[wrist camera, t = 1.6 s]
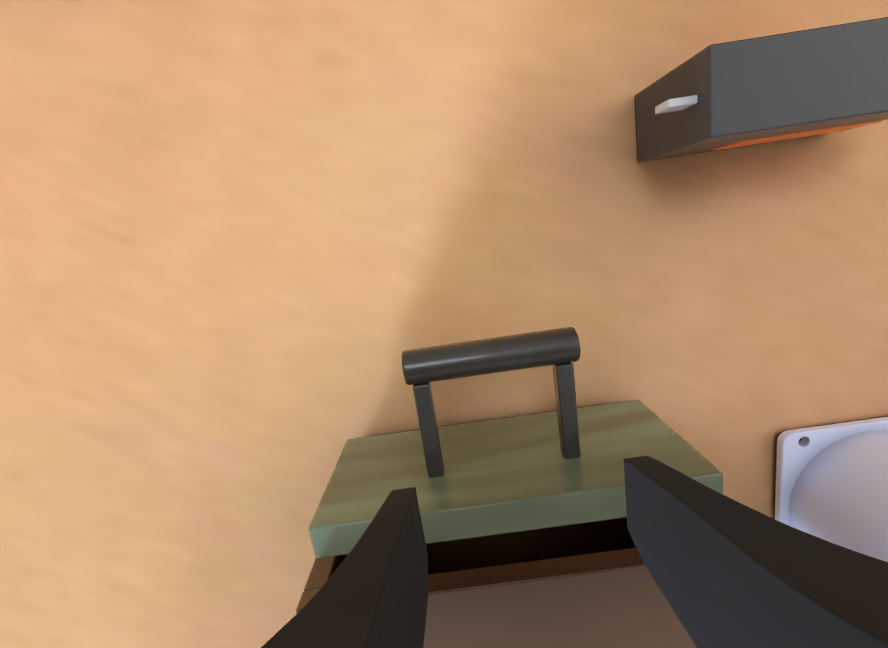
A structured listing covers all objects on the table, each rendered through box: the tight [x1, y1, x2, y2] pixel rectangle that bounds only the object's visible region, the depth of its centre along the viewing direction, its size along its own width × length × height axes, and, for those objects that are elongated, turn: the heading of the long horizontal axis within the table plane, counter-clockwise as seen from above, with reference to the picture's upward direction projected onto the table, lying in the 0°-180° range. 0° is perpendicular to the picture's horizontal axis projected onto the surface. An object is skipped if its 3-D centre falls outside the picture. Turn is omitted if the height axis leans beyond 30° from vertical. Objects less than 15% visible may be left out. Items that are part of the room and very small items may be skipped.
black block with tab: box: [635, 17, 888, 162], centre depth 15 cm, size 9×3×5 cm, turn 98°
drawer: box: [309, 327, 723, 575], centre depth 18 cm, size 18×13×6 cm
